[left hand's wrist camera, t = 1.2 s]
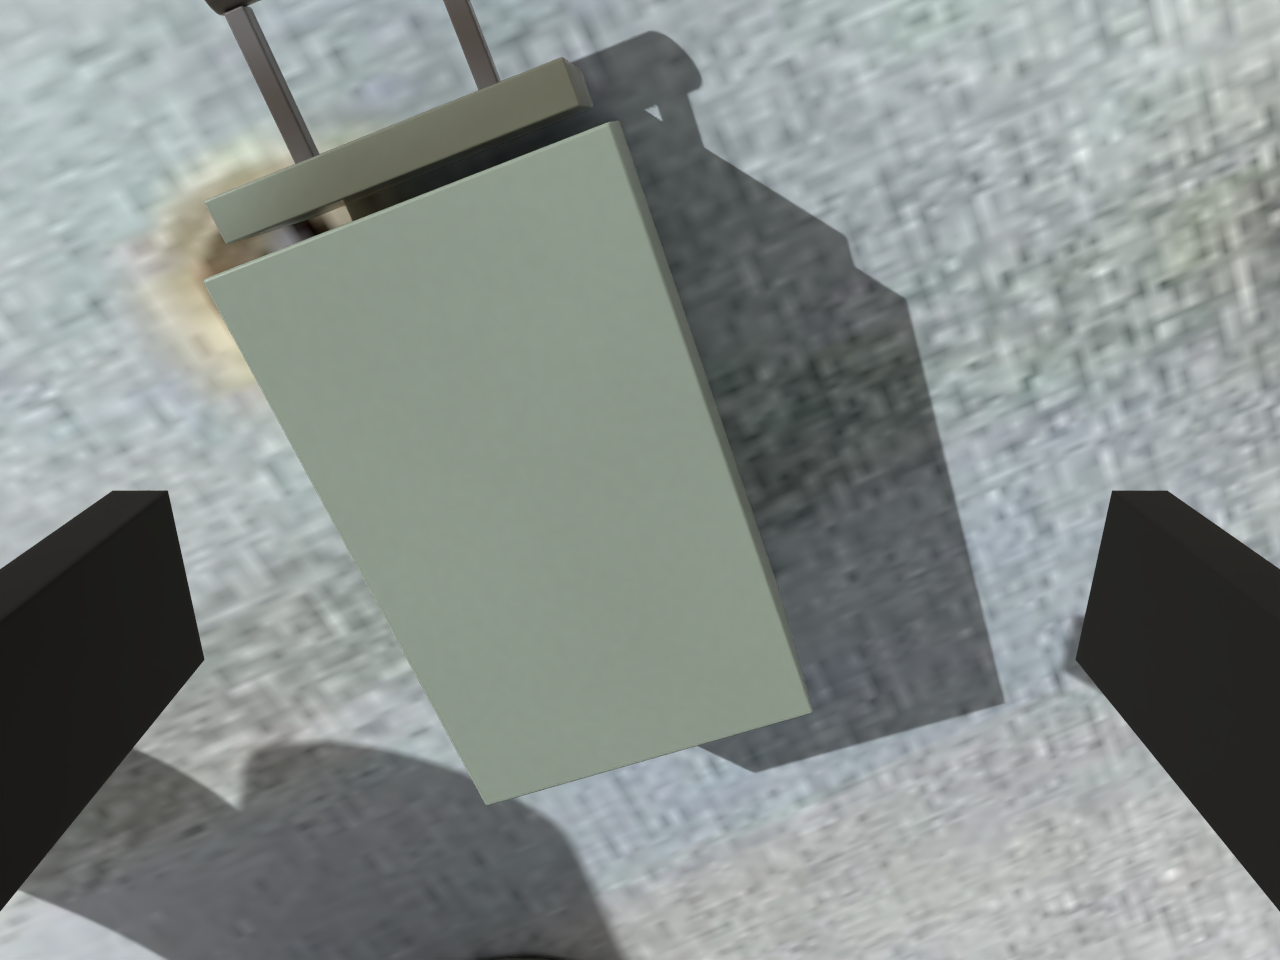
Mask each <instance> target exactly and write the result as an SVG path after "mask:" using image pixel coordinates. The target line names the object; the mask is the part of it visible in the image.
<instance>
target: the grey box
mask: <svg viewBox="0 0 1280 960" xmlns="http://www.w3.org/2000/svg"><path fill="white" fill-rule="evenodd" d="M204 284H205V286H206V288H207V290H208V292H209V294H210V295H211V297H212V299H213V301H214V303H215V305H216V306H217V308H218V310H219V312H220V314H221V316H222V318H223V319H224V321H225V323H226V325H227V327H228V329H229V331H230V332H231V334H232V336H233V338H234V340H235V342H236V343H237V345H238V347H239V349H240V351H241V353H242V355H243V356H244V358H245V360H246V362H247V364H248V366H249V368H250V369H251V371H252V373H253V375H254V377H255V379H256V381H257V382H258V384H259V386H260V388H261V390H262V392H263V393H264V395H265V397H266V399H267V401H268V403H269V405H270V406H271V408H272V410H273V412H274V414H275V416H276V418H277V419H278V421H279V423H280V425H281V427H282V429H283V431H284V432H285V434H286V436H287V438H288V440H289V442H290V443H291V445H292V447H293V449H294V451H295V453H296V455H297V456H298V458H299V460H300V462H301V464H302V466H303V468H304V469H305V471H306V473H307V475H308V477H309V479H310V481H311V482H312V484H313V486H314V488H315V490H316V492H317V493H318V495H319V497H320V499H321V501H322V503H323V505H324V506H325V508H326V510H327V512H328V514H329V516H330V518H331V519H332V521H333V523H334V525H335V527H336V529H337V530H338V532H339V534H340V536H341V538H342V540H343V542H344V543H345V545H346V547H347V549H348V551H349V553H350V555H351V556H352V558H353V560H354V562H355V564H356V566H357V568H358V569H359V571H360V573H361V575H362V577H363V579H364V580H365V582H366V584H367V586H368V588H369V590H370V592H371V593H372V595H373V597H374V599H375V601H376V603H377V605H378V606H379V608H380V610H381V612H382V614H383V616H384V618H385V619H386V621H387V623H388V625H389V627H390V629H391V630H392V632H393V634H394V636H395V638H396V640H397V642H398V643H399V645H400V647H401V649H402V651H403V653H404V655H405V656H406V658H407V660H408V662H409V664H410V666H411V668H412V669H413V671H414V673H415V675H416V677H417V679H418V680H419V682H420V684H421V686H422V688H423V690H424V692H425V693H426V695H427V697H428V699H429V701H430V703H431V705H432V706H433V708H434V710H435V712H436V714H437V716H438V717H439V719H440V721H441V723H442V725H443V727H444V729H445V730H446V732H447V734H448V736H449V738H450V740H451V742H452V743H453V745H454V747H455V749H456V751H457V753H458V755H459V756H460V758H461V760H462V762H463V764H464V766H465V767H466V769H467V771H468V773H469V775H470V777H471V779H472V780H473V782H474V784H475V786H476V788H477V790H478V792H479V793H480V795H481V797H482V799H483V801H484V803H485V804H486V805H491V804H495V803H498V802H502V801H505V800H509V799H512V798H516V797H519V796H523V795H526V794H530V793H533V792H537V791H540V790H544V789H547V788H551V787H554V786H558V785H561V784H565V783H568V782H572V781H575V780H579V779H582V778H586V777H589V776H593V775H596V774H600V773H603V772H607V771H610V770H614V769H617V768H621V767H624V766H628V765H631V764H635V763H638V762H642V761H645V760H649V759H652V758H656V757H659V756H663V755H666V754H670V753H674V752H677V751H681V750H684V749H688V748H691V747H695V746H698V745H702V744H705V743H709V742H712V741H716V740H719V739H723V738H726V737H730V736H733V735H737V734H740V733H744V732H747V731H751V730H754V729H758V728H761V727H765V726H768V725H772V724H775V723H779V722H782V721H786V720H789V719H793V718H796V717H800V716H803V715H807V714H810V713H812V711H813V709H812V706H811V702H810V698H809V695H808V691H807V688H806V684H805V681H804V677H803V674H802V670H801V666H800V663H799V659H798V656H797V652H796V649H795V645H794V642H793V638H792V635H791V631H790V628H789V624H788V621H787V617H786V614H785V610H784V606H783V603H782V599H781V596H780V592H779V589H778V585H777V582H776V579H775V576H774V573H773V570H772V567H771V564H770V561H769V558H768V556H767V553H766V550H765V547H764V544H763V541H762V538H761V535H760V532H759V529H758V526H757V523H756V520H755V517H754V514H753V511H752V509H751V506H750V503H749V500H748V497H747V494H746V491H745V488H744V485H743V482H742V479H741V476H740V473H739V470H738V467H737V464H736V462H735V459H734V456H733V453H732V450H731V447H730V444H729V441H728V438H727V435H726V432H725V429H724V426H723V423H722V420H721V417H720V415H719V412H718V409H717V406H716V403H715V400H714V397H713V394H712V391H711V388H710V385H709V382H708V379H707V376H706V373H705V370H704V368H703V365H702V362H701V359H700V356H699V353H698V350H697V347H696V344H695V341H694V338H693V335H692V332H691V329H690V326H689V323H688V321H687V318H686V315H685V312H684V309H683V306H682V303H681V300H680V297H679V294H678V291H677V288H676V285H675V282H674V279H673V276H672V274H671V271H670V268H669V265H668V262H667V259H666V256H665V253H664V250H663V247H662V244H661V241H660V238H659V235H658V232H657V229H656V227H655V224H654V221H653V218H652V215H651V212H650V209H649V206H648V203H647V200H646V197H645V194H644V191H643V188H642V185H641V182H640V180H639V177H638V174H637V171H636V168H635V165H634V162H633V159H632V156H631V153H630V150H629V147H628V144H627V141H626V138H625V135H624V133H623V130H622V127H621V124H620V121H619V120H617V121H612V122H608V123H605V124H602V125H599V126H597V127H594V128H592V129H589V130H587V131H584V132H581V133H579V134H576V135H574V136H571V137H569V138H566V139H563V140H561V141H558V142H556V143H553V144H551V145H548V146H545V147H543V148H540V149H538V150H535V151H533V152H530V153H527V154H525V155H522V156H520V157H517V158H515V159H512V160H509V161H507V162H504V163H502V164H499V165H497V166H494V167H491V168H489V169H486V170H484V171H481V172H479V173H476V174H473V175H471V176H468V177H466V178H463V179H461V180H458V181H455V182H453V183H450V184H448V185H445V186H442V187H440V188H437V189H435V190H432V191H430V192H427V193H424V194H422V195H419V196H417V197H414V198H412V199H409V200H406V201H404V202H401V203H399V204H396V205H394V206H391V207H388V208H386V209H383V210H381V211H378V212H376V213H373V214H370V215H368V216H365V217H363V218H360V219H358V220H355V221H352V222H350V223H347V224H345V225H342V226H340V227H337V228H334V229H332V230H329V231H327V232H324V233H322V234H319V235H316V236H314V237H311V238H309V239H306V240H304V241H301V242H298V243H296V244H293V245H291V246H288V247H286V248H283V249H280V250H278V251H275V252H273V253H270V254H268V255H265V256H262V257H260V258H257V259H255V260H252V261H250V262H247V263H244V264H242V265H239V266H237V267H234V268H232V269H229V270H226V271H224V272H221V273H219V274H216V275H214V276H211V277H208V278H206V279H205V280H204Z"/></svg>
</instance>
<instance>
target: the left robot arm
mask: <svg viewBox="0 0 1280 960" xmlns="http://www.w3.org/2000/svg"><path fill="white" fill-rule="evenodd" d="M203 661H204V656H203V651H202V646H201V642H200V637H199V633H198V628H197V623H196V619H195V614H194V609H193V605H192V600H191V596H190V591H189V586H188V582H187V577H186V572H185V568H184V563H183V559H182V554H181V549H180V545H179V540H178V535H177V531H176V526H175V522H174V517H173V512H172V508H171V503H170V498H169V494H168V491H112V492H110V493H109V494H107V495H106V496H104V497H103V498H102V499H100V500H99V501H97V502H96V503H94V504H93V505H92V506H90V507H89V508H87V509H86V510H84V511H83V512H82V513H80V514H79V515H77V516H76V517H74V518H73V519H72V520H70V521H69V522H67V523H66V524H64V525H63V526H62V527H60V528H59V529H57V530H56V531H54V532H53V533H52V534H50V535H49V536H47V537H46V538H44V539H43V540H41V541H40V542H39V543H37V544H36V545H34V546H33V547H31V548H30V549H29V550H27V551H26V552H24V553H23V554H21V555H20V556H19V557H17V558H16V559H14V560H13V561H11V562H10V563H9V564H7V565H6V566H4V567H3V568H1V569H0V911H1V910H2V909H3V907H4V906H5V905H6V904H7V902H8V901H9V900H10V899H11V897H12V896H13V895H14V894H15V893H16V891H17V890H18V889H19V888H20V886H21V885H22V884H23V883H24V881H25V880H26V879H27V878H28V877H29V875H30V874H31V873H32V872H33V870H34V869H35V868H36V867H37V865H38V864H39V863H40V862H41V860H42V859H43V858H44V857H45V856H46V854H47V853H48V852H49V851H50V849H51V848H52V847H53V846H54V844H55V843H56V842H57V841H58V839H59V838H60V837H61V836H62V835H63V833H64V832H65V831H66V830H67V828H68V827H69V826H70V825H71V823H72V822H73V821H74V820H75V819H76V817H77V816H78V815H79V814H80V812H81V811H82V810H83V809H84V807H85V806H86V805H87V804H88V802H89V801H90V800H91V799H92V798H93V796H94V795H95V794H96V793H97V791H98V790H99V789H100V788H101V786H102V785H103V784H104V783H105V782H106V780H107V779H108V778H109V777H110V775H111V774H112V773H113V772H114V770H115V769H116V768H117V767H118V765H119V764H120V763H121V762H122V761H123V759H124V758H125V757H126V756H127V754H128V753H129V752H130V751H131V749H132V748H133V747H134V746H135V745H136V743H137V742H138V741H139V740H140V738H141V737H142V736H143V735H144V733H145V732H146V731H147V730H148V728H149V727H150V726H151V725H152V724H153V722H154V721H155V720H156V719H157V717H158V716H159V715H160V714H161V712H162V711H163V710H164V709H165V708H166V706H167V705H168V704H169V703H170V701H171V700H172V699H173V698H174V696H175V695H176V694H177V693H178V691H179V690H180V689H181V688H182V687H183V685H184V684H185V683H186V682H187V680H188V679H189V678H190V677H191V675H192V674H193V673H194V672H195V671H196V669H197V668H198V667H199V666H200V664H201V663H202V662H203ZM1076 661H1077V662H1078V663H1079V664H1080V666H1081V667H1082V668H1083V669H1084V671H1085V672H1086V673H1087V674H1088V675H1089V677H1090V678H1091V679H1092V680H1093V682H1094V683H1095V684H1096V685H1097V687H1098V688H1099V689H1100V690H1101V691H1102V693H1103V694H1104V695H1105V696H1106V698H1107V699H1108V700H1109V701H1110V703H1111V704H1112V705H1113V706H1114V708H1115V709H1116V710H1117V711H1118V712H1119V714H1120V715H1121V716H1122V717H1123V719H1124V720H1125V721H1126V722H1127V724H1128V725H1129V726H1130V727H1131V728H1132V730H1133V731H1134V732H1135V733H1136V735H1137V736H1138V737H1139V738H1140V740H1141V741H1142V742H1143V743H1144V745H1145V746H1146V747H1147V748H1148V749H1149V751H1150V752H1151V753H1152V754H1153V756H1154V757H1155V758H1156V759H1157V761H1158V762H1159V763H1160V764H1161V765H1162V767H1163V768H1164V769H1165V770H1166V772H1167V773H1168V774H1169V775H1170V777H1171V778H1172V779H1173V780H1174V782H1175V783H1176V784H1177V785H1178V786H1179V788H1180V789H1181V790H1182V791H1183V793H1184V794H1185V795H1186V796H1187V798H1188V799H1189V800H1190V801H1191V802H1192V804H1193V805H1194V806H1195V807H1196V809H1197V810H1198V811H1199V812H1200V814H1201V815H1202V816H1203V817H1204V819H1205V820H1206V821H1207V822H1208V823H1209V825H1210V826H1211V827H1212V828H1213V830H1214V831H1215V832H1216V833H1217V835H1218V836H1219V837H1220V838H1221V839H1222V841H1223V842H1224V843H1225V844H1226V846H1227V847H1228V848H1229V849H1230V851H1231V852H1232V853H1233V854H1234V856H1235V857H1236V858H1237V859H1238V860H1239V862H1240V863H1241V864H1242V865H1243V867H1244V868H1245V869H1246V870H1247V872H1248V873H1249V874H1250V875H1251V876H1252V878H1253V879H1254V880H1255V881H1256V883H1257V884H1258V885H1259V886H1260V888H1261V889H1262V890H1263V891H1264V893H1265V894H1266V895H1267V896H1268V897H1269V899H1270V900H1271V901H1272V902H1273V904H1274V905H1275V906H1276V907H1277V909H1278V910H1279V911H1280V569H1279V568H1277V567H1276V566H1274V565H1273V564H1271V563H1270V562H1269V561H1267V560H1266V559H1264V558H1263V557H1261V556H1260V555H1259V554H1257V553H1256V552H1254V551H1253V550H1251V549H1250V548H1249V547H1247V546H1246V545H1244V544H1243V543H1241V542H1240V541H1239V540H1237V539H1236V538H1234V537H1233V536H1231V535H1230V534H1228V533H1227V532H1226V531H1224V530H1223V529H1221V528H1220V527H1218V526H1217V525H1216V524H1214V523H1213V522H1211V521H1210V520H1208V519H1207V518H1206V517H1204V516H1203V515H1201V514H1200V513H1198V512H1197V511H1196V510H1194V509H1193V508H1191V507H1190V506H1188V505H1187V504H1186V503H1184V502H1183V501H1181V500H1180V499H1178V498H1177V497H1176V496H1174V495H1173V494H1171V493H1170V492H1168V491H1112V494H1111V498H1110V503H1109V508H1108V512H1107V517H1106V522H1105V526H1104V531H1103V535H1102V540H1101V545H1100V549H1099V554H1098V559H1097V563H1096V568H1095V572H1094V577H1093V582H1092V586H1091V591H1090V596H1089V600H1088V605H1087V609H1086V614H1085V619H1084V623H1083V628H1082V633H1081V637H1080V642H1079V646H1078V651H1077V656H1076ZM496 960H550V959H541V958H506V959H496Z"/></svg>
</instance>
